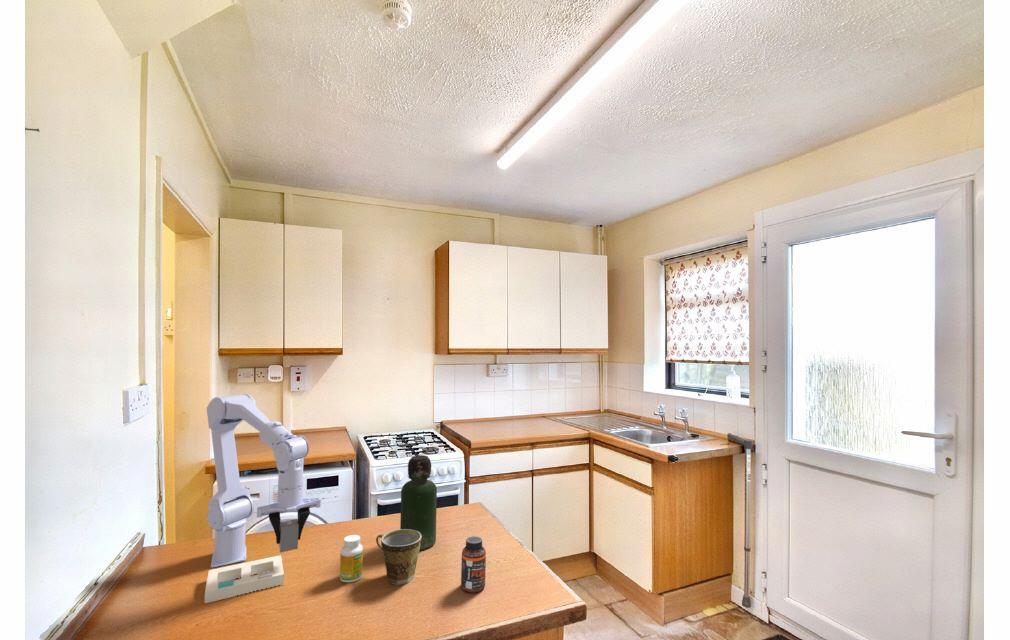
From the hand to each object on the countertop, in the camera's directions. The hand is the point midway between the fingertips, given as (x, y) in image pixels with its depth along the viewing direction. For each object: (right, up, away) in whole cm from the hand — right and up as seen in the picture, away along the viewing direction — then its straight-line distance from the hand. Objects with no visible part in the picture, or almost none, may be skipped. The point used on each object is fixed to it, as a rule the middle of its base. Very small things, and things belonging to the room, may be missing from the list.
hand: (288, 540), depth 112 cm
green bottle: (+29, -10, +18) cm, 36 cm away
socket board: (-9, -9, -4) cm, 13 cm away
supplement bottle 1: (+16, -9, -1) cm, 19 cm away
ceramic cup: (+28, -9, 0) cm, 29 cm away
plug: (0, -2, 0) cm, 2 cm away
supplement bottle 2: (+48, -9, -5) cm, 49 cm away
